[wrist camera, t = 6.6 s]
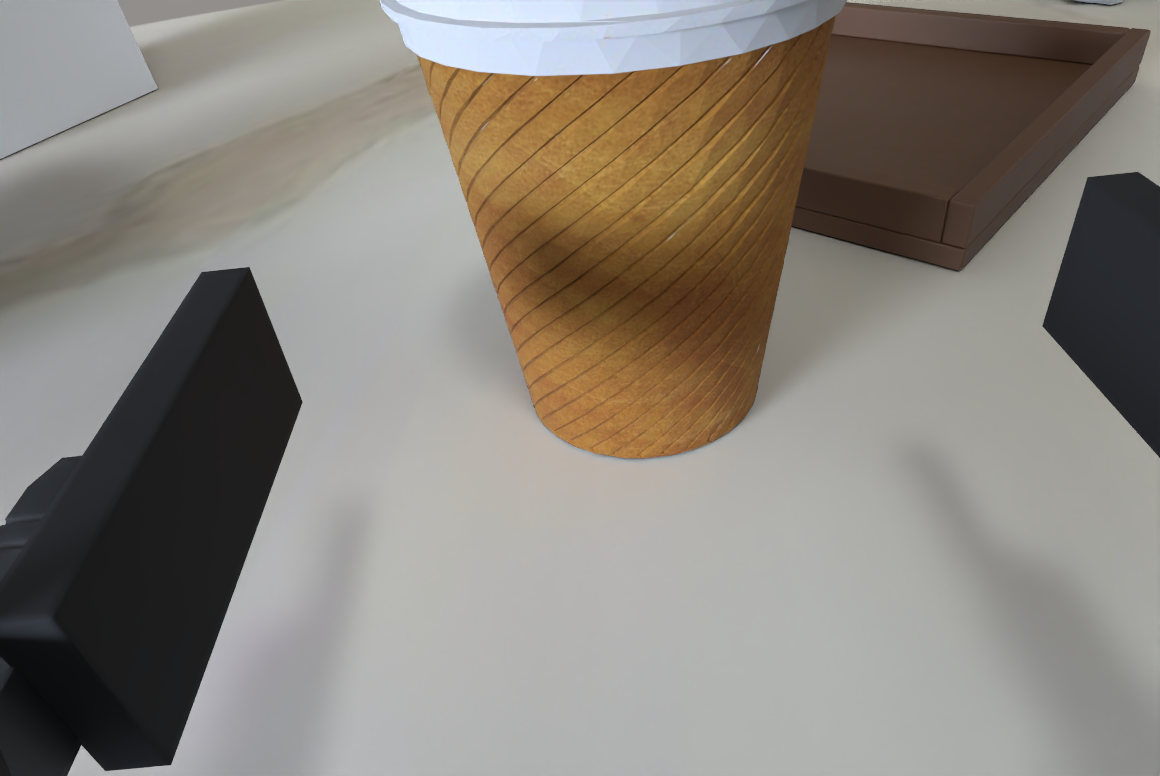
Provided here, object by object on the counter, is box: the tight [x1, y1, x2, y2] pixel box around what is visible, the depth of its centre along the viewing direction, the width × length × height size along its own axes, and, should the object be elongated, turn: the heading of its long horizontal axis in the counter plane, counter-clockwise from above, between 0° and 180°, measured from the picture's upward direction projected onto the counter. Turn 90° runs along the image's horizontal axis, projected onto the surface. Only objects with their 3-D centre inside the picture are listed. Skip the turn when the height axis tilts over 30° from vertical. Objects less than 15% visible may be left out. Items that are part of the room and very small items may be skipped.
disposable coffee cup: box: [380, 0, 847, 458], centre depth 19 cm, size 10×10×12 cm
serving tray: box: [791, 2, 1150, 270], centre depth 35 cm, size 17×20×2 cm
